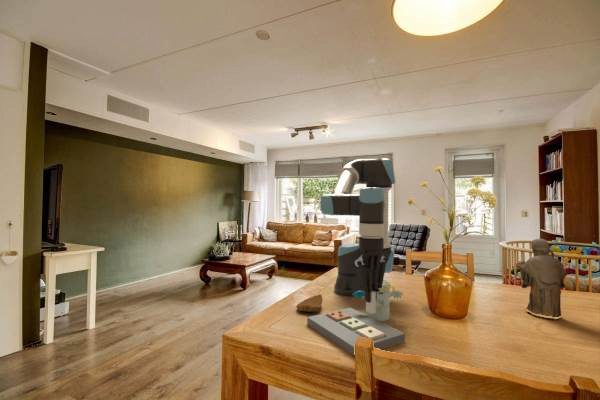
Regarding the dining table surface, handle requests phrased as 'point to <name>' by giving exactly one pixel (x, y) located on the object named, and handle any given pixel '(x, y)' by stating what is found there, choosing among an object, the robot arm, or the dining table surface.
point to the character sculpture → (381, 301)
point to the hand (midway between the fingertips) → (370, 311)
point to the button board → (348, 337)
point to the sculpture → (543, 279)
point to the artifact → (311, 304)
